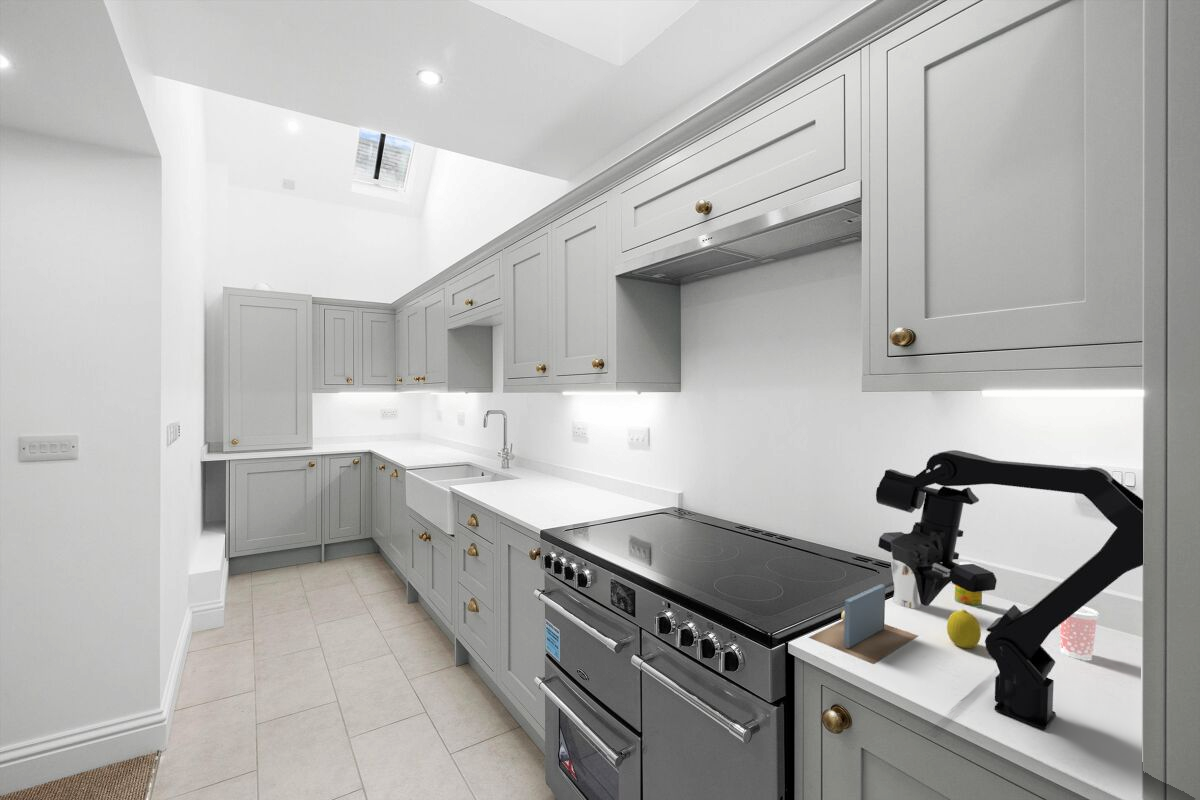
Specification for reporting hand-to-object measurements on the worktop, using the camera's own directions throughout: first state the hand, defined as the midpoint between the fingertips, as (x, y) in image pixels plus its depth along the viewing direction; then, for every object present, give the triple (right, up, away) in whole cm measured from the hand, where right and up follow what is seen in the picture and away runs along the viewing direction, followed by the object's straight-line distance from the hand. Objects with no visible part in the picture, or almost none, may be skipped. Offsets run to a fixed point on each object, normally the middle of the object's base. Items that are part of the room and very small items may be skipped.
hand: (924, 604), depth 97 cm
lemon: (+14, -13, +10) cm, 21 cm away
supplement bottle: (+30, -13, +33) cm, 46 cm away
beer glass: (+14, -12, +31) cm, 36 cm away
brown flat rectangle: (-5, -12, +13) cm, 19 cm away
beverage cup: (+35, -13, +9) cm, 38 cm away
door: (-5, -11, +13) cm, 18 cm away
